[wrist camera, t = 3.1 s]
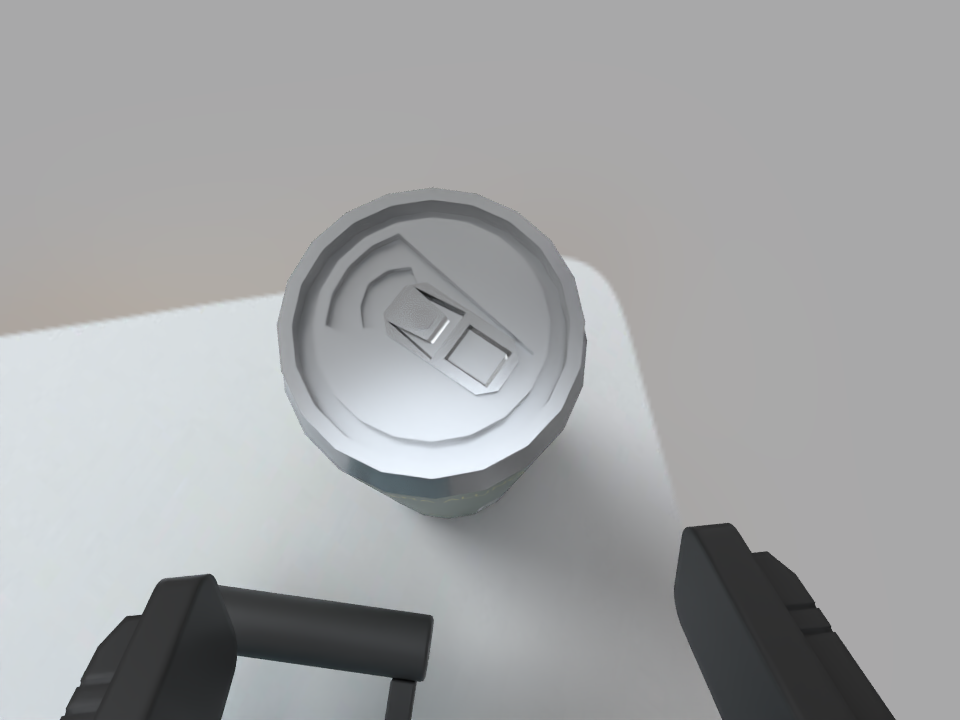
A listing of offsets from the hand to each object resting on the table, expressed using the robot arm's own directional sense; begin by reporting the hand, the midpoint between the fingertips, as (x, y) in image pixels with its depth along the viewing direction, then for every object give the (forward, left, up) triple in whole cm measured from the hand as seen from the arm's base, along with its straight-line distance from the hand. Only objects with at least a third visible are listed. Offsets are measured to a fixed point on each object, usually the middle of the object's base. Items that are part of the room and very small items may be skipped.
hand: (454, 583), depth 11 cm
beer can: (+1, -4, -10) cm, 11 cm away
